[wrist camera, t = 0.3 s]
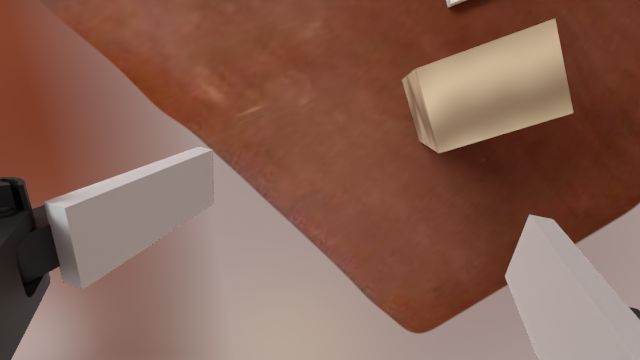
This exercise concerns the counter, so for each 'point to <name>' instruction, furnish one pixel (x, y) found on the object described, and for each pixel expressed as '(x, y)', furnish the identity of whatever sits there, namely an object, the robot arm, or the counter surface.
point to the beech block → (490, 89)
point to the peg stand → (453, 2)
